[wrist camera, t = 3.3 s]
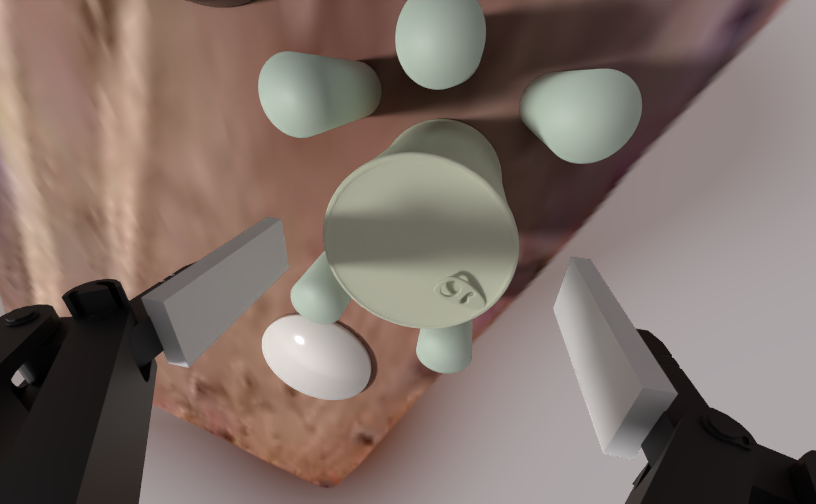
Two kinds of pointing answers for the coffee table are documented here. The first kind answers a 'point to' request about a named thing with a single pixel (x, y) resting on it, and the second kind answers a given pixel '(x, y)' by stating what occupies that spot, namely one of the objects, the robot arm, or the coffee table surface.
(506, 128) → the coffee table surface
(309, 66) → the posts
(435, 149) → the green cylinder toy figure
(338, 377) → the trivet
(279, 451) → the coffee table surface
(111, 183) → the coffee table surface
